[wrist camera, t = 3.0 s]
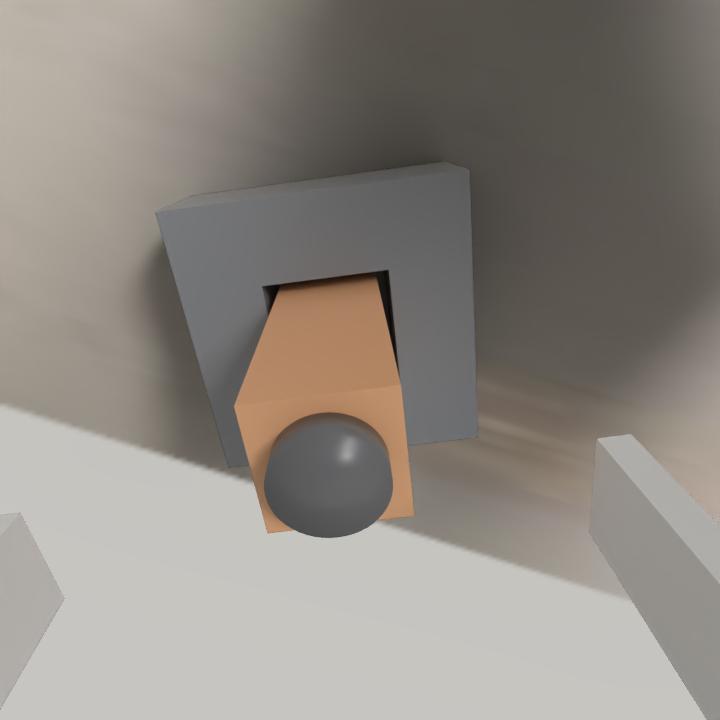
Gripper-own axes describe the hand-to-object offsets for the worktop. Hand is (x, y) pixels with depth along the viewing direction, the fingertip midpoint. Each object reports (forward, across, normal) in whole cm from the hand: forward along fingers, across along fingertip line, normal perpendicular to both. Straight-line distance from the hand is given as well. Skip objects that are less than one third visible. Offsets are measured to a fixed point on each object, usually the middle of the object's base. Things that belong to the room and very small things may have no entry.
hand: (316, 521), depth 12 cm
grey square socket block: (+16, 0, 0) cm, 16 cm away
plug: (+15, 0, 0) cm, 15 cm away
